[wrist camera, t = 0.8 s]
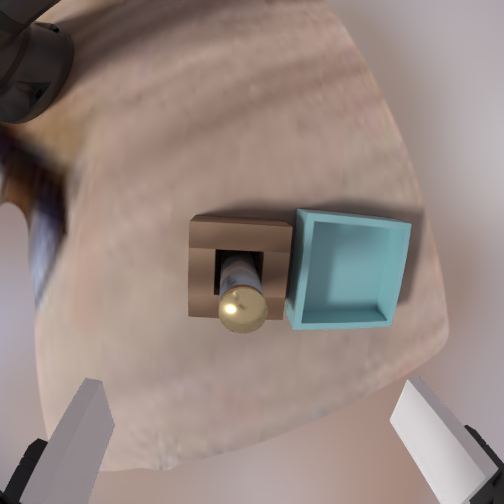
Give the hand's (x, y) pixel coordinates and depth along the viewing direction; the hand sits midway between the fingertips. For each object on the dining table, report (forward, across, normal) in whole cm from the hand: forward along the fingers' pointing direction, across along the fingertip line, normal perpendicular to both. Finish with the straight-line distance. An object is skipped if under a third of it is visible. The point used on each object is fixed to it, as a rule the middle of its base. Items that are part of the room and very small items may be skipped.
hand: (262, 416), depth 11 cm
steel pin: (+24, 0, 0) cm, 25 cm away
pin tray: (+24, +13, 0) cm, 28 cm away
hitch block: (+24, 0, 0) cm, 25 cm away
